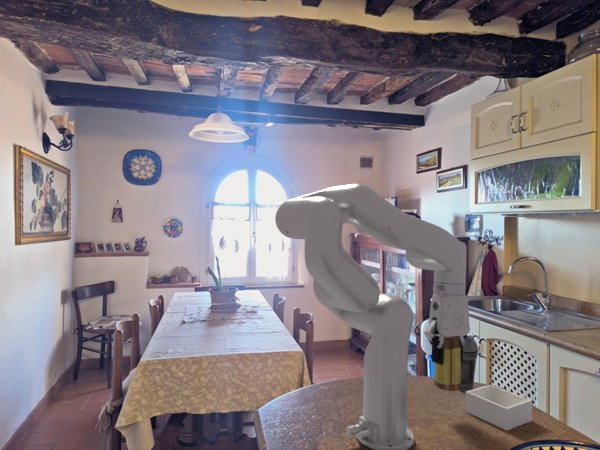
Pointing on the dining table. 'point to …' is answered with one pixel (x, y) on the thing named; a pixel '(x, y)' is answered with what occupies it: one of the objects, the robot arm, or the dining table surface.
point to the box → (498, 406)
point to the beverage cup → (468, 364)
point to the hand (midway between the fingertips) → (447, 360)
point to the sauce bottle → (449, 365)
